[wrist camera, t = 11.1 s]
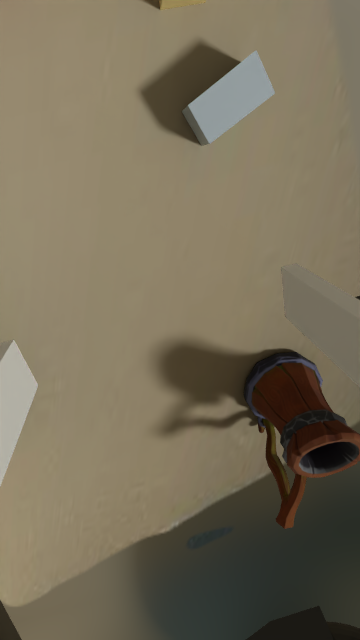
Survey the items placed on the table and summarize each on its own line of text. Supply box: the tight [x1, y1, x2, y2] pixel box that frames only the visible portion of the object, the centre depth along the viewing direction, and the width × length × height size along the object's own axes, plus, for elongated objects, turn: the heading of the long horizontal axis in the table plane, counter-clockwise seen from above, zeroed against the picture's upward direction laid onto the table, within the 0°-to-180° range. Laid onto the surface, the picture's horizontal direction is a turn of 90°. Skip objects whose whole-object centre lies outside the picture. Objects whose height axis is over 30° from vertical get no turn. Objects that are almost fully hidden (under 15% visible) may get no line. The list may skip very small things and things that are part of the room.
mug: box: [244, 352, 360, 529], centre depth 44 cm, size 18×12×15 cm, turn 164°
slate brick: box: [182, 51, 275, 146], centre depth 31 cm, size 7×4×4 cm, turn 125°
